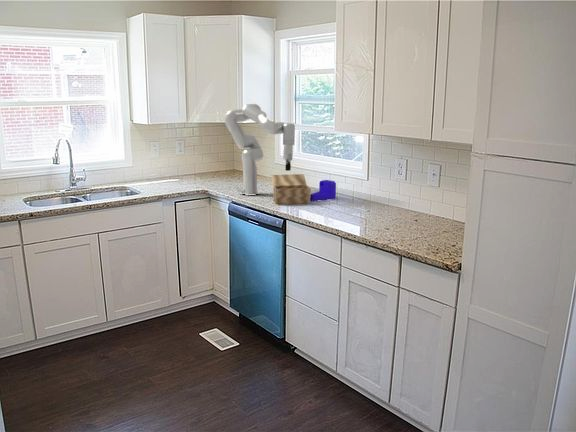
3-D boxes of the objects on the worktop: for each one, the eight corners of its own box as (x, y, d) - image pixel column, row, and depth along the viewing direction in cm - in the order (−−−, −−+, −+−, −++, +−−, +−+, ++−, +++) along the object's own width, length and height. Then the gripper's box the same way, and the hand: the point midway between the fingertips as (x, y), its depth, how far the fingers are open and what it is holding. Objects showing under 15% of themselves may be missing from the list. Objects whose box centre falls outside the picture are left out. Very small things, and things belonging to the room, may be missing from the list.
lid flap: (271, 174, 351) (271, 175, 351) (273, 185, 342) (273, 186, 342) (303, 174, 354) (303, 174, 354) (306, 184, 345) (306, 185, 345)
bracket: (323, 196, 360) (324, 179, 357) (335, 198, 352) (336, 181, 349) (305, 200, 348) (305, 182, 345) (317, 202, 340) (317, 184, 338)
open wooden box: (275, 204, 333) (275, 189, 330) (273, 200, 344) (273, 185, 342) (310, 203, 336) (310, 188, 334) (306, 200, 347) (306, 185, 345)
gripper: (281, 141, 350) (280, 168, 354) (284, 143, 335) (284, 172, 340) (292, 141, 351) (291, 168, 355) (296, 143, 336) (295, 172, 341)
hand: (288, 170), depth 347 cm, fingers closed
